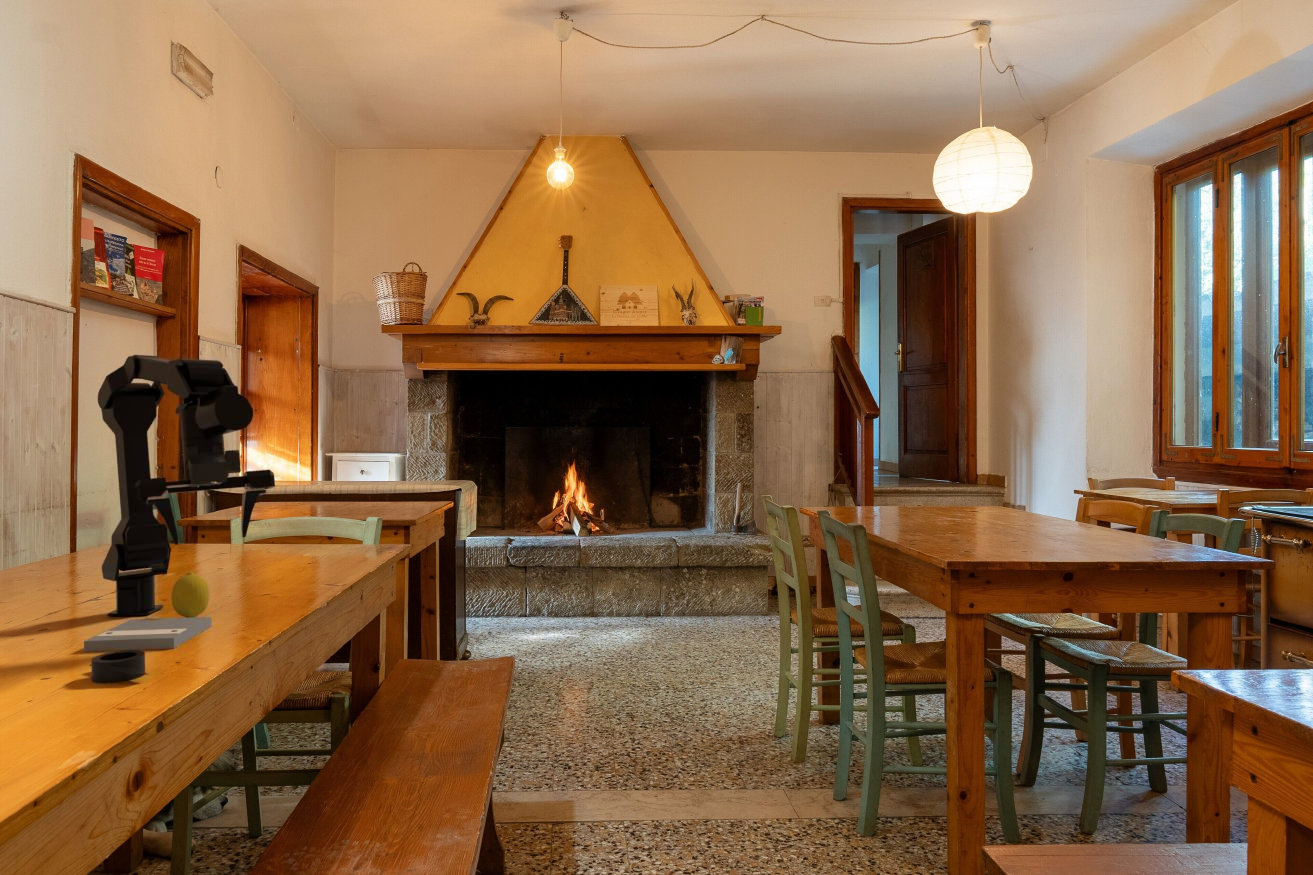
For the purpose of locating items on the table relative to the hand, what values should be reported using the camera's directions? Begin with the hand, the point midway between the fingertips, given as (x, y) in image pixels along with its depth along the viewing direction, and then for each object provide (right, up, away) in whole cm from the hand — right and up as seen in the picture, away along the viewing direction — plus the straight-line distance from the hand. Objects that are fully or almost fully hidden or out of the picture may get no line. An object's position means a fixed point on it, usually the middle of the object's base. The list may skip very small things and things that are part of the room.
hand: (210, 540), depth 133 cm
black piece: (0, -15, -22) cm, 27 cm away
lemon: (-8, -14, +10) cm, 19 cm away
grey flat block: (-8, -14, -2) cm, 16 cm away
